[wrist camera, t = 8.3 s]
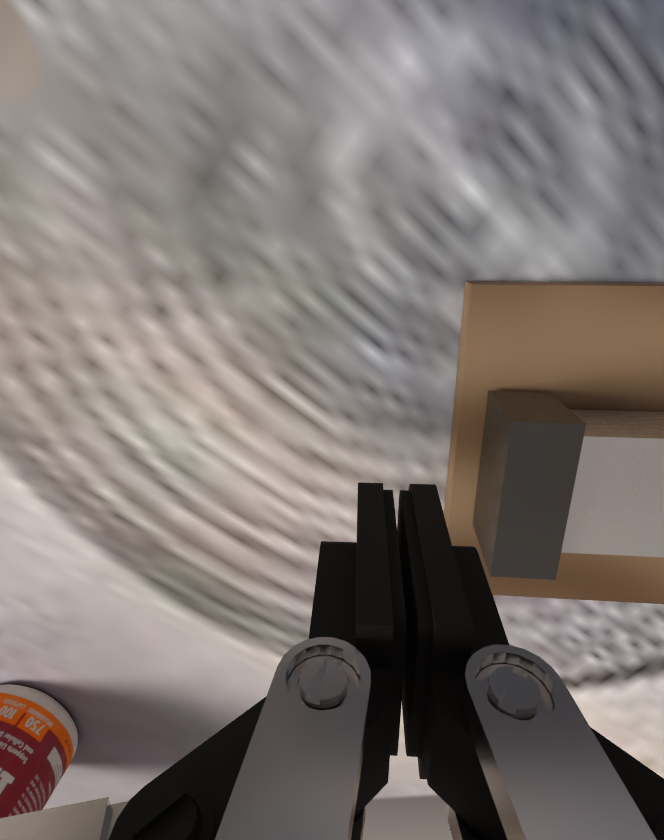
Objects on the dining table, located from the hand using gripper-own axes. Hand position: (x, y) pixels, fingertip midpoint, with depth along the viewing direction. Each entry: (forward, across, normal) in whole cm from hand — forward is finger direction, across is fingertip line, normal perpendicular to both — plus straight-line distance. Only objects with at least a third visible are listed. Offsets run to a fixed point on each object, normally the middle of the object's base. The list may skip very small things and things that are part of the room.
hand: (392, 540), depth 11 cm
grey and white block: (+7, -10, +2) cm, 12 cm away
